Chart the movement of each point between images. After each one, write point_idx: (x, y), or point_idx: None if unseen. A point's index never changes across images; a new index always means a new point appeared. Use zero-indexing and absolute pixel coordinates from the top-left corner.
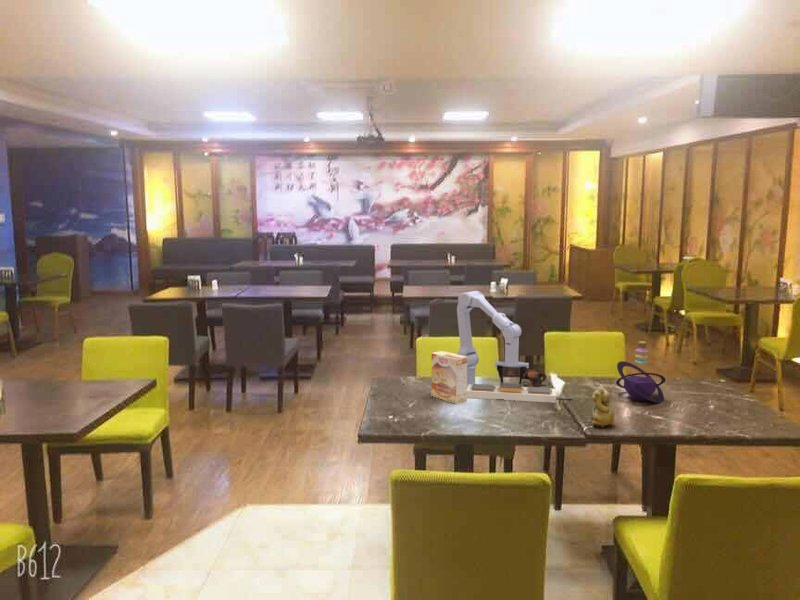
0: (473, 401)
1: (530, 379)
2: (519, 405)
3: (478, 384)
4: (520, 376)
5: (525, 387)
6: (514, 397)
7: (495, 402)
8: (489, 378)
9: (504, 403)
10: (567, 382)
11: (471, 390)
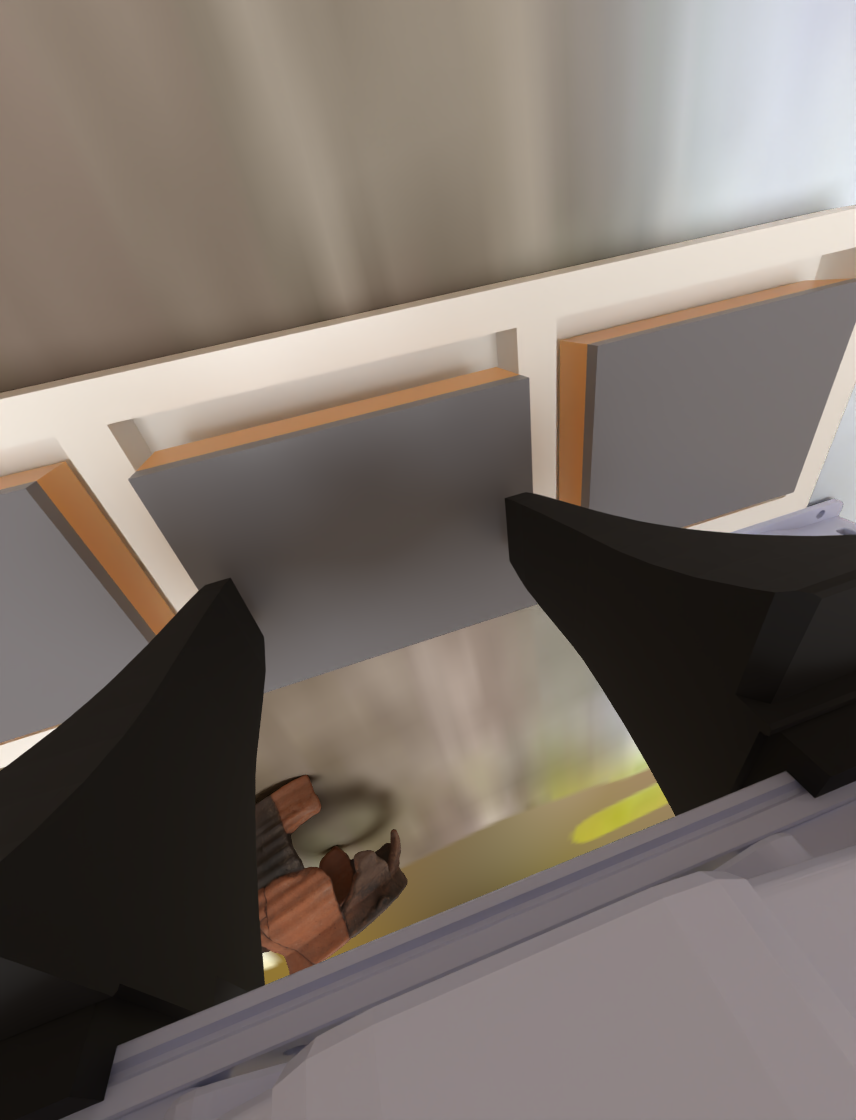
0: (776, 35)
1: (341, 865)
2: (19, 18)
3: (745, 498)
4: (146, 682)
5: None
6: (249, 340)
7: (480, 101)
8: (585, 771)
9: (334, 84)
10: None
11: None
